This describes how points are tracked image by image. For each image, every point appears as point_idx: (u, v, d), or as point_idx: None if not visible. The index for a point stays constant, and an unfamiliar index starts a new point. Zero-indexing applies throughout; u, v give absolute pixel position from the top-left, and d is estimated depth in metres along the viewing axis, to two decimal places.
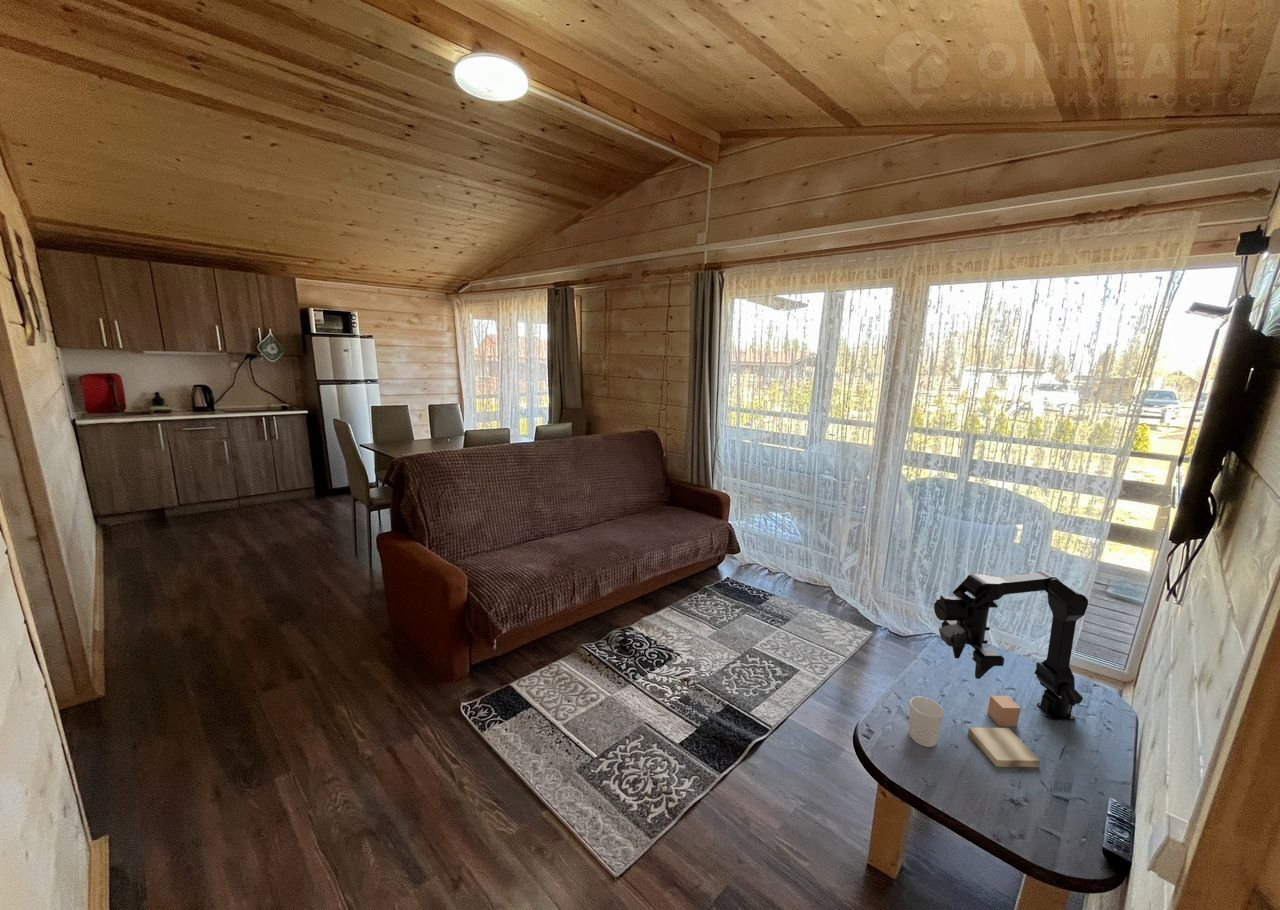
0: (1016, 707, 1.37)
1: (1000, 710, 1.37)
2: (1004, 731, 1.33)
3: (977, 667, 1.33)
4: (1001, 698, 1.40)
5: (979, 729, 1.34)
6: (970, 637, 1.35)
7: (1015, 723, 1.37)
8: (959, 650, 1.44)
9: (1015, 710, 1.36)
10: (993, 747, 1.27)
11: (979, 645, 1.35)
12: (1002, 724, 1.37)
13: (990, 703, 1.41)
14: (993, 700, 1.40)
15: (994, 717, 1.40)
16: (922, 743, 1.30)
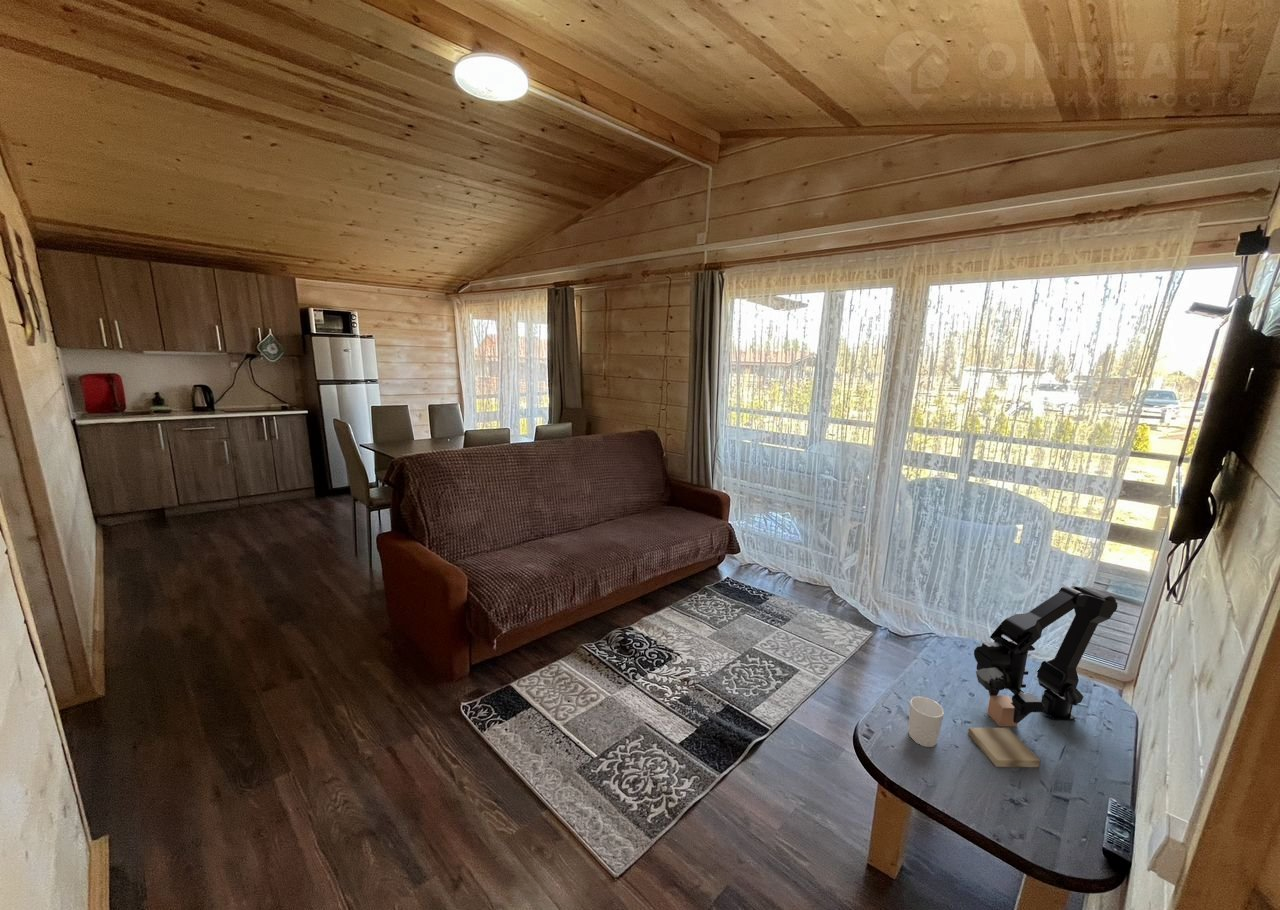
0: None
1: (1000, 710, 1.37)
2: (1004, 731, 1.33)
3: (1016, 712, 1.33)
4: (1001, 698, 1.40)
5: (979, 729, 1.34)
6: (1008, 681, 1.34)
7: (1015, 723, 1.37)
8: (995, 692, 1.43)
9: None
10: (993, 747, 1.27)
11: (1018, 689, 1.34)
12: (1002, 724, 1.37)
13: (990, 703, 1.41)
14: (993, 700, 1.40)
15: (994, 717, 1.40)
16: (922, 743, 1.30)
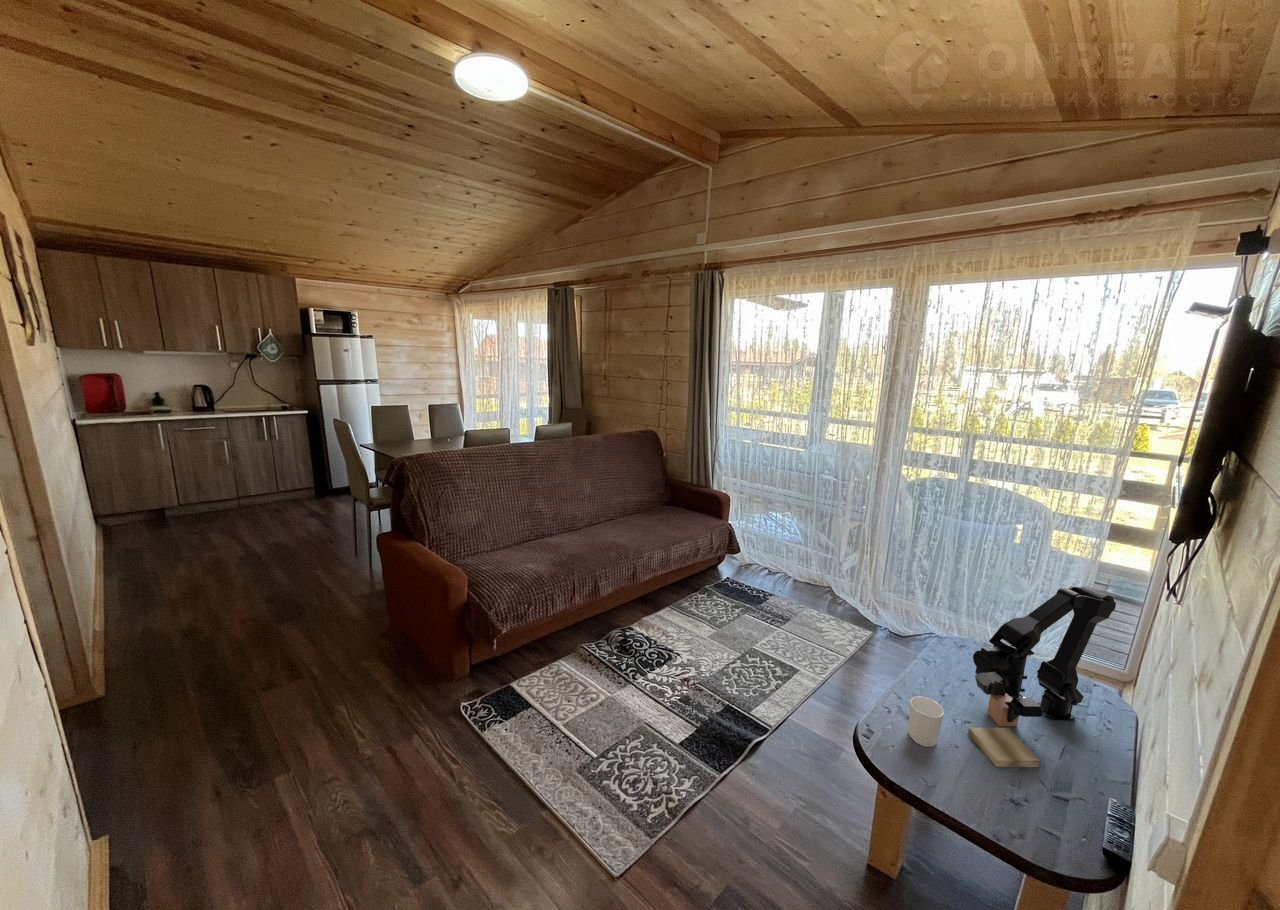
0: None
1: (1000, 709, 1.37)
2: (1004, 731, 1.33)
3: (1010, 711, 1.35)
4: (1001, 697, 1.40)
5: (979, 729, 1.34)
6: (1007, 686, 1.34)
7: (1015, 723, 1.37)
8: None
9: None
10: (993, 747, 1.27)
11: (1016, 694, 1.34)
12: (1002, 724, 1.37)
13: (990, 703, 1.41)
14: (993, 700, 1.40)
15: (994, 717, 1.39)
16: (922, 743, 1.30)
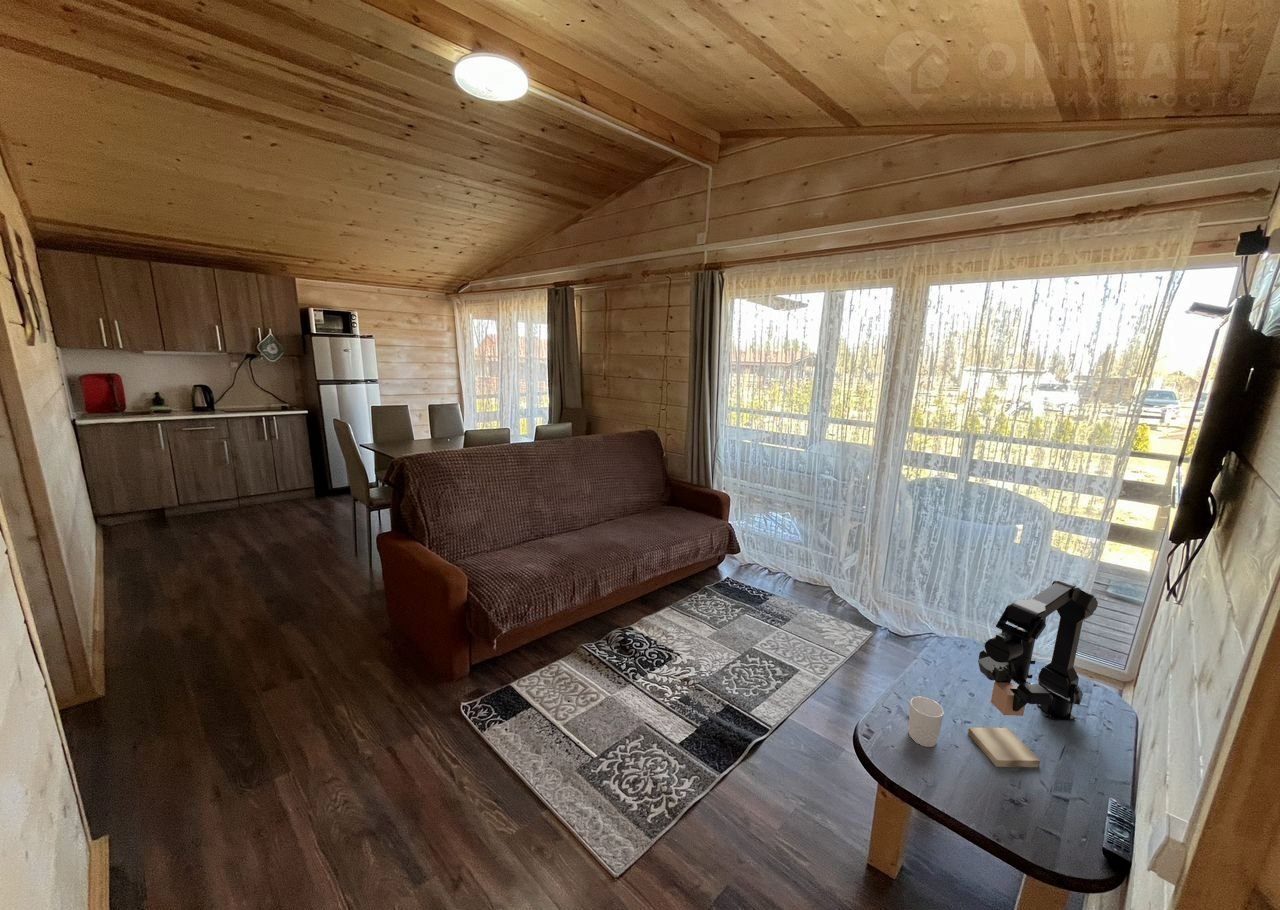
0: None
1: (1005, 697, 1.26)
2: (1004, 731, 1.33)
3: (1015, 699, 1.24)
4: (1006, 685, 1.29)
5: (979, 729, 1.34)
6: (1013, 671, 1.23)
7: (1021, 712, 1.26)
8: None
9: None
10: (993, 747, 1.27)
11: (1023, 680, 1.23)
12: (1007, 713, 1.26)
13: (994, 690, 1.30)
14: (997, 687, 1.29)
15: (998, 705, 1.29)
16: (922, 743, 1.30)
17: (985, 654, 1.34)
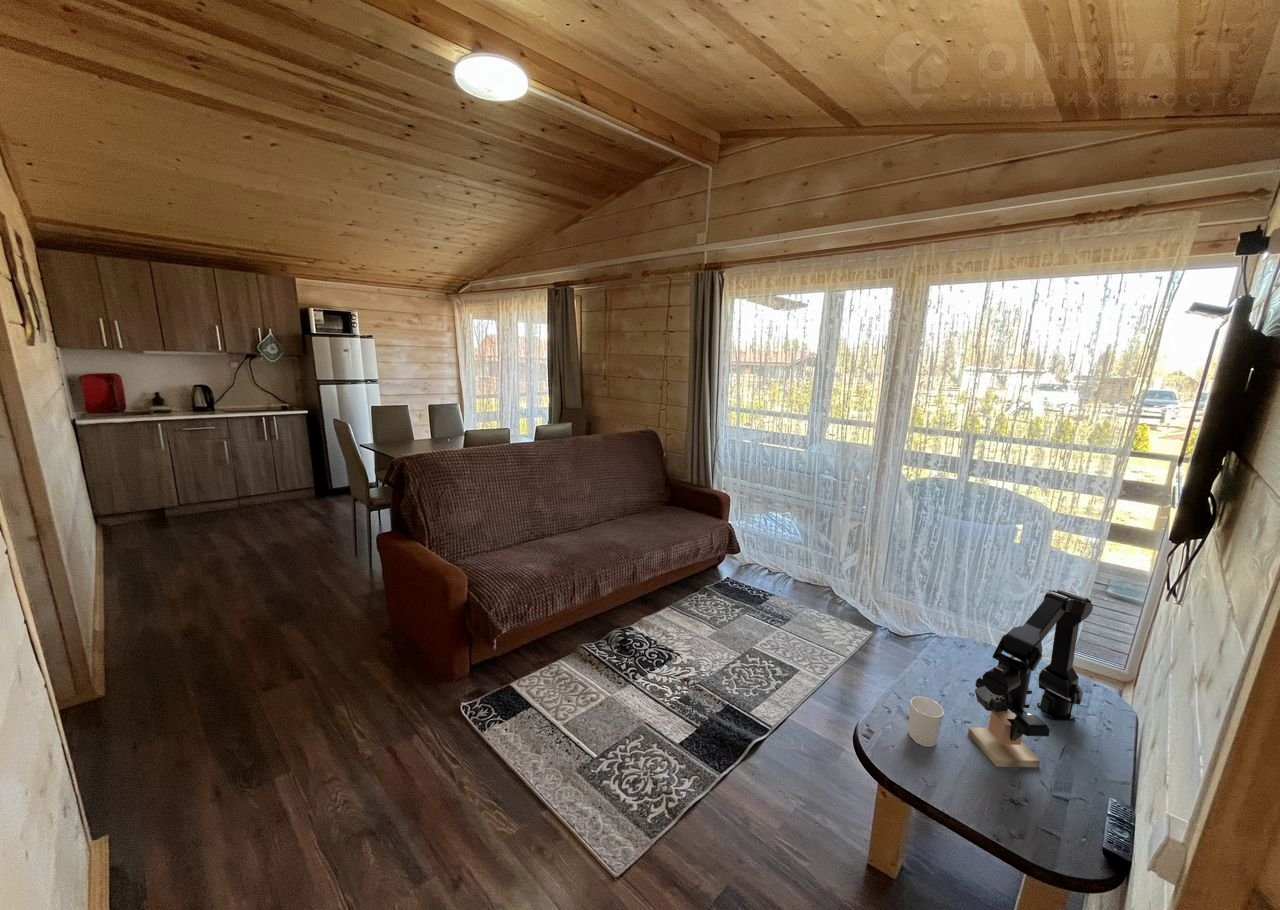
0: None
1: (1003, 727, 1.25)
2: None
3: (1013, 729, 1.24)
4: (1003, 713, 1.29)
5: (979, 729, 1.34)
6: (1010, 701, 1.23)
7: (1018, 741, 1.26)
8: None
9: None
10: (993, 747, 1.27)
11: (1020, 710, 1.23)
12: (1004, 742, 1.26)
13: (991, 719, 1.30)
14: (994, 716, 1.28)
15: (995, 734, 1.28)
16: (922, 743, 1.30)
17: (982, 682, 1.33)
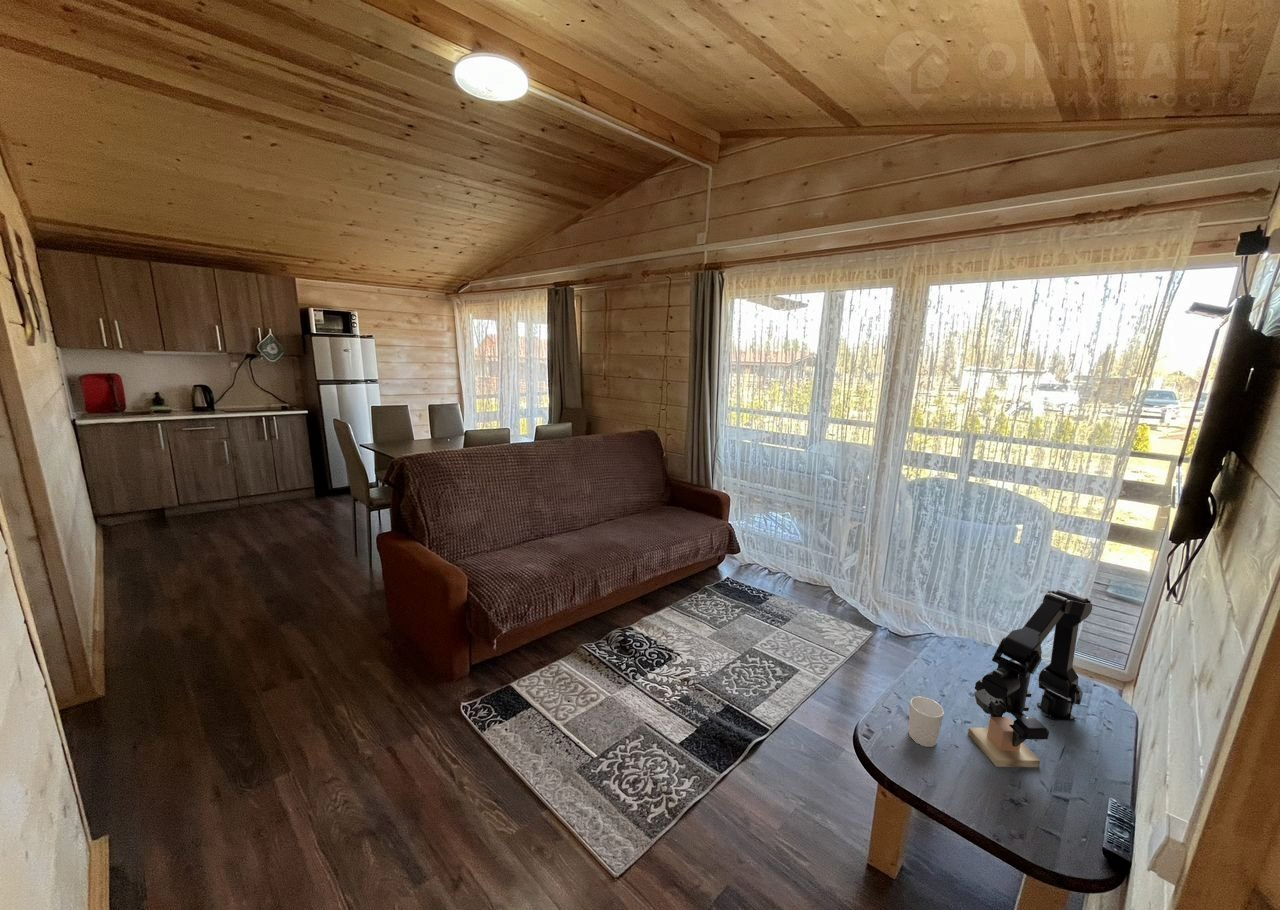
0: None
1: (1001, 733, 1.26)
2: None
3: (1015, 735, 1.23)
4: (1002, 719, 1.29)
5: (979, 729, 1.34)
6: (1010, 704, 1.23)
7: (1017, 747, 1.26)
8: None
9: None
10: (993, 747, 1.27)
11: (1020, 713, 1.23)
12: (1003, 748, 1.26)
13: (990, 725, 1.30)
14: (993, 722, 1.29)
15: (994, 740, 1.28)
16: (922, 743, 1.30)
17: (981, 685, 1.33)
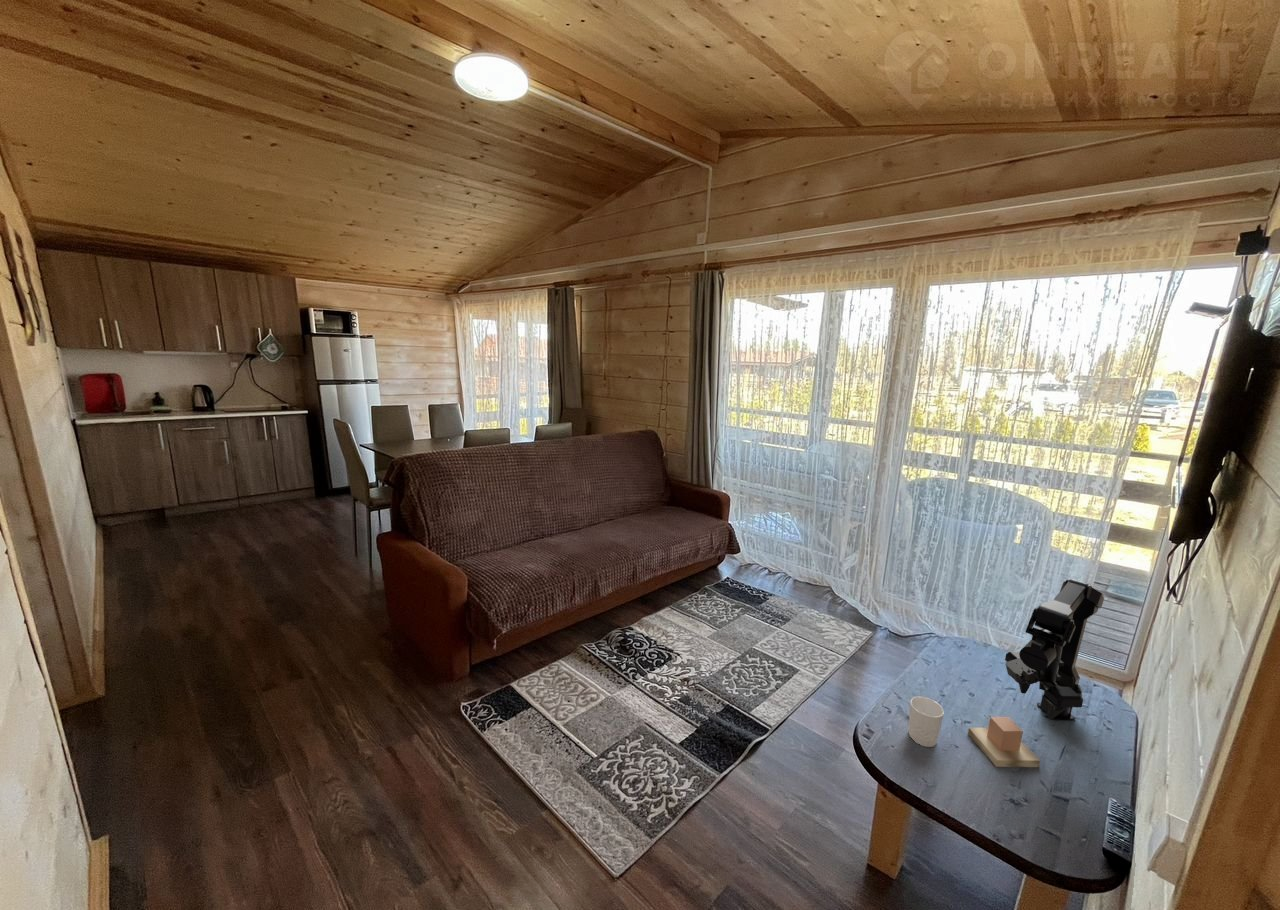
0: (1018, 730, 1.25)
1: (1001, 733, 1.26)
2: None
3: (1051, 707, 1.22)
4: (1002, 719, 1.29)
5: (979, 729, 1.34)
6: (1042, 674, 1.23)
7: (1017, 747, 1.26)
8: (1026, 684, 1.32)
9: (1017, 733, 1.25)
10: (993, 747, 1.27)
11: (1052, 682, 1.23)
12: (1003, 748, 1.26)
13: (990, 725, 1.30)
14: (993, 722, 1.29)
15: (994, 740, 1.28)
16: (922, 743, 1.30)
17: (1012, 656, 1.33)
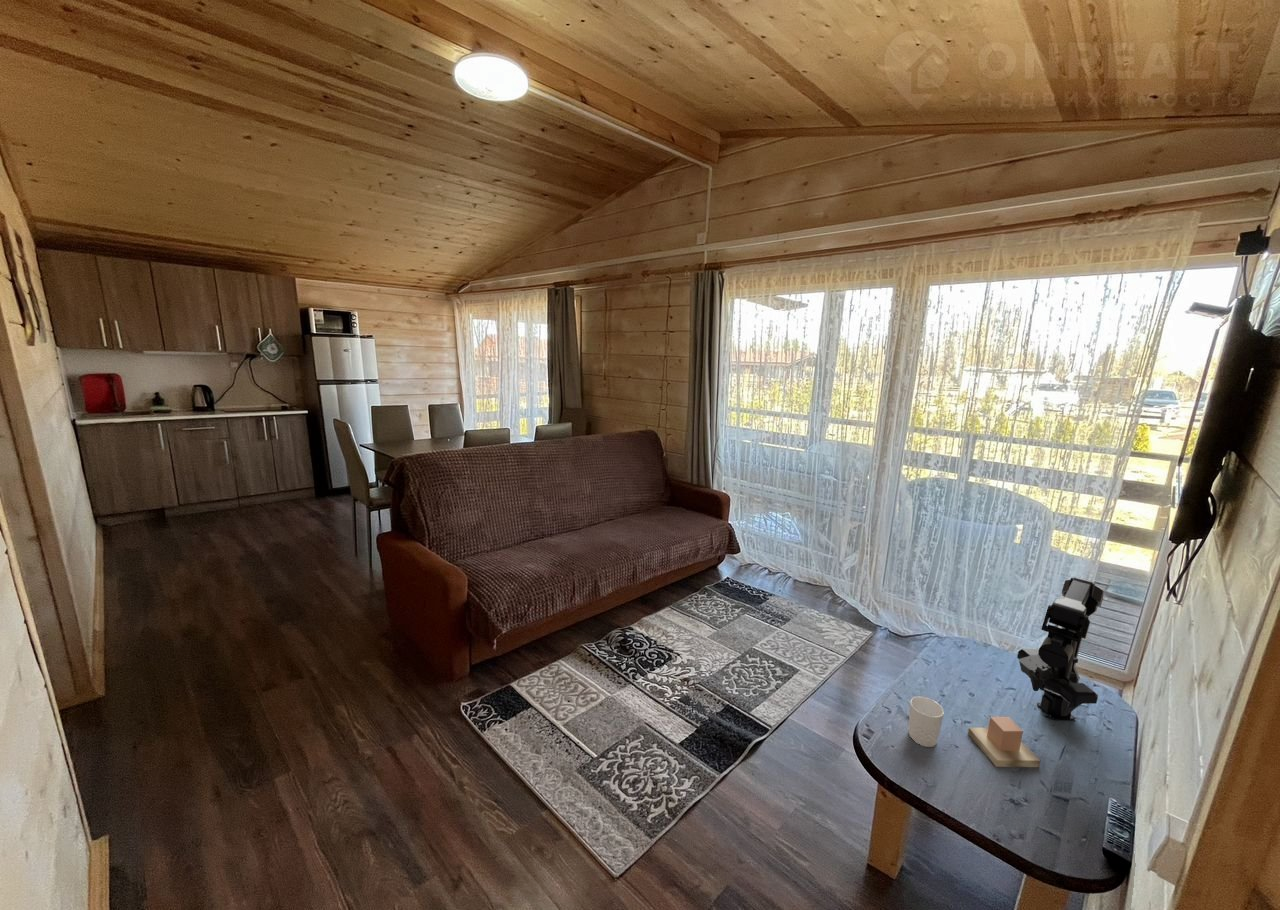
0: (1018, 730, 1.25)
1: (1001, 733, 1.26)
2: None
3: (1065, 703, 1.22)
4: (1002, 719, 1.29)
5: (979, 729, 1.34)
6: (1056, 670, 1.23)
7: (1017, 747, 1.26)
8: (1038, 682, 1.32)
9: (1017, 733, 1.25)
10: (993, 747, 1.27)
11: (1066, 679, 1.23)
12: (1003, 748, 1.26)
13: (990, 725, 1.30)
14: (993, 722, 1.29)
15: (994, 740, 1.28)
16: (922, 743, 1.30)
17: (1024, 653, 1.33)
